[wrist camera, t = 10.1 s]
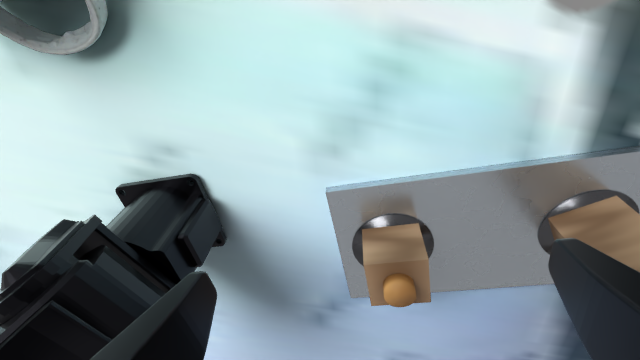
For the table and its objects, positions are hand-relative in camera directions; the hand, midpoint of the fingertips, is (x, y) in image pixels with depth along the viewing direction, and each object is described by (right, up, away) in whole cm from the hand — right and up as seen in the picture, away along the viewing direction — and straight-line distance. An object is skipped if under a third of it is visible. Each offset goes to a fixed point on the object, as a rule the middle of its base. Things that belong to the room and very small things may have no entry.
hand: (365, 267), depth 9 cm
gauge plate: (+11, -1, +15) cm, 19 cm away
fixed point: (+4, -3, +16) cm, 17 cm away
